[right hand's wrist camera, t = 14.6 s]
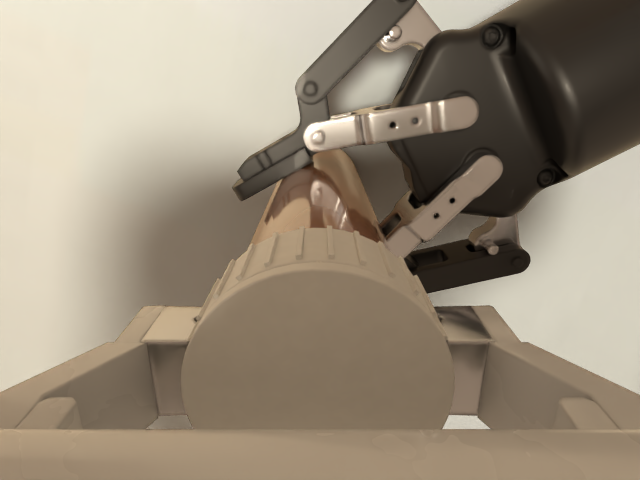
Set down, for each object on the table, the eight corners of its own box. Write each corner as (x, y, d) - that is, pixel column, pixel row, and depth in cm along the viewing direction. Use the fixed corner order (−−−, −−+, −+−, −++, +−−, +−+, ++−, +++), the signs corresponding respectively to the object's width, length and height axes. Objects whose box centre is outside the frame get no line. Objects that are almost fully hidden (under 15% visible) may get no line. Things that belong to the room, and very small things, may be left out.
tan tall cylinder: (294, 131, 25) (237, 237, 8) (368, 157, 26) (470, 310, 8) (272, 204, 27) (181, 429, 9) (342, 227, 27) (381, 481, 10)
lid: (160, 316, 10) (116, 379, 8) (334, 174, 9) (339, 203, 7) (305, 449, 12) (302, 533, 9) (472, 341, 10) (512, 409, 8)
